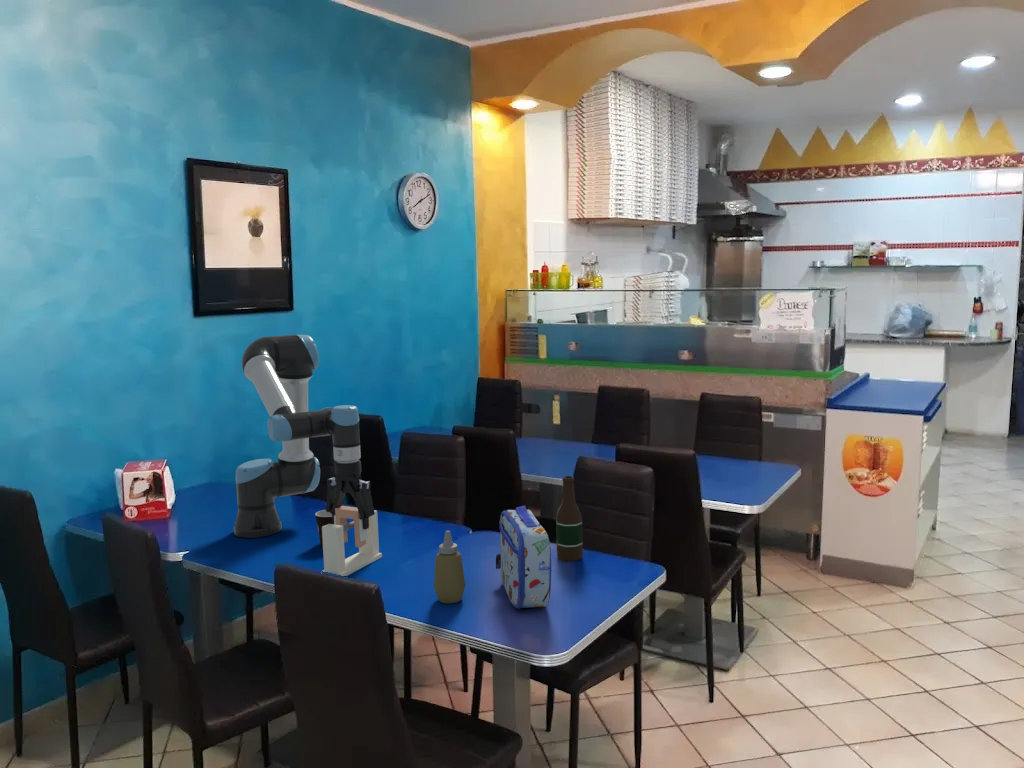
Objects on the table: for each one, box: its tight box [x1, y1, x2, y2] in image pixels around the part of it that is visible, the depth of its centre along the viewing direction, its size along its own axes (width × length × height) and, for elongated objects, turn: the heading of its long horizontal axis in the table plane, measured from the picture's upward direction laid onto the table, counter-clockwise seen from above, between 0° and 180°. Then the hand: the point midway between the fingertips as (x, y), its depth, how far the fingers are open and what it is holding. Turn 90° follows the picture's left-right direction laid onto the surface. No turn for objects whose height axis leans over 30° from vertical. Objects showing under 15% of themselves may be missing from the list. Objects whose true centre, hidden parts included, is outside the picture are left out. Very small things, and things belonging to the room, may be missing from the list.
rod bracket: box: [321, 509, 383, 577], centre depth 238 cm, size 7×19×14 cm, turn 154°
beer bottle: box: [555, 475, 584, 563], centre depth 239 cm, size 8×8×24 cm
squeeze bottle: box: [433, 530, 466, 604], centre depth 211 cm, size 8×8×18 cm
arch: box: [335, 505, 366, 548], centre depth 237 cm, size 8×3×10 cm, turn 64°
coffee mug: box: [314, 509, 333, 548], centre depth 260 cm, size 12×9×10 cm
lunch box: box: [495, 505, 552, 609], centre depth 212 cm, size 28×10×22 cm, turn 12°
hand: (351, 538), depth 238 cm, fingers closed on arch, 8 cm apart
